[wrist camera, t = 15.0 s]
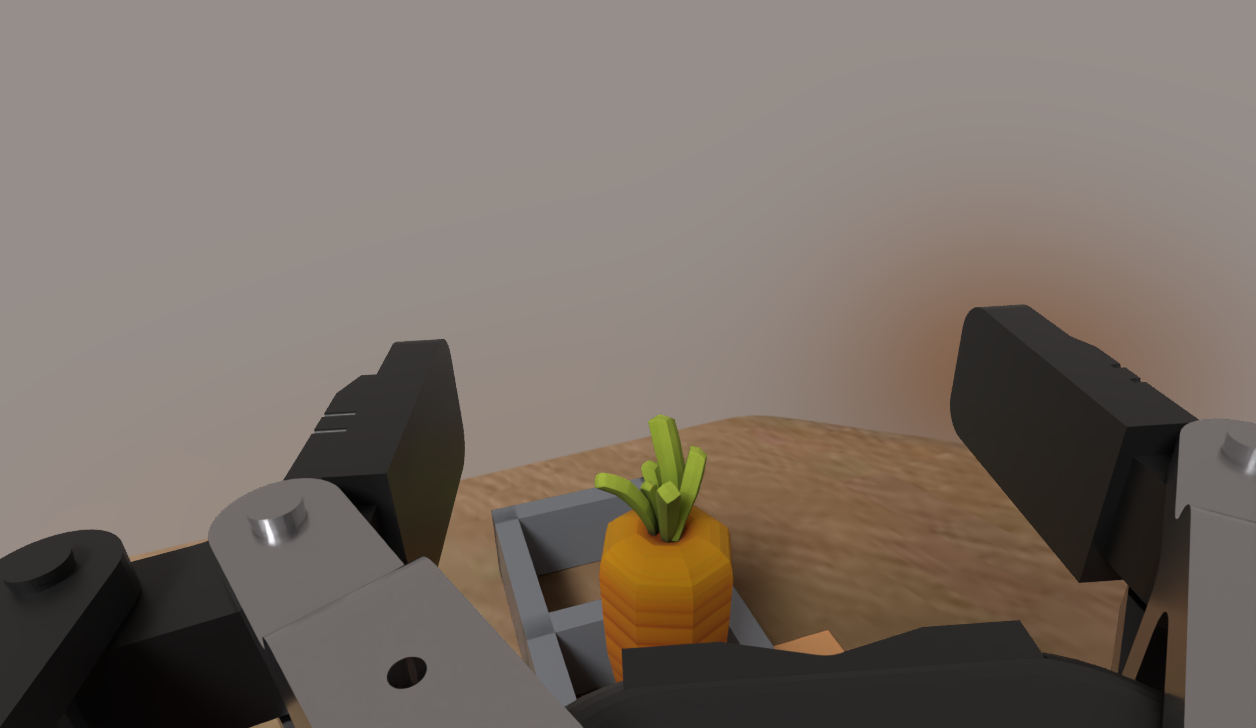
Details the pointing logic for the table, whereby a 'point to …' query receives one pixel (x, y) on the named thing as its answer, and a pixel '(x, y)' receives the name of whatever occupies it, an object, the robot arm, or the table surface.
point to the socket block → (575, 637)
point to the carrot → (664, 556)
